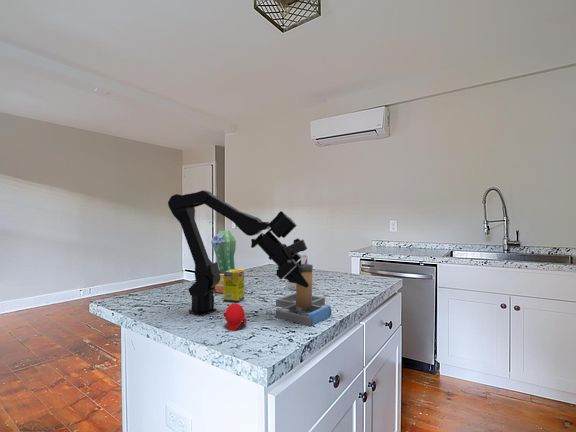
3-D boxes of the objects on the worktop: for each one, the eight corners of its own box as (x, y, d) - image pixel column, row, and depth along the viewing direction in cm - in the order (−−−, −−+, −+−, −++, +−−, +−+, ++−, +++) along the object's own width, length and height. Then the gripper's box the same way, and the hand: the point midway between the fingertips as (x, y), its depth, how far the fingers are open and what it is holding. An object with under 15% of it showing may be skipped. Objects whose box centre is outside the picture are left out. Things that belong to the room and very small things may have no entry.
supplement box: (238, 302, 113) (239, 272, 113) (223, 301, 114) (223, 271, 114) (244, 298, 119) (244, 269, 119) (229, 297, 120) (229, 269, 120)
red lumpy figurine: (224, 310, 93) (218, 304, 88) (243, 303, 94) (238, 297, 89) (230, 336, 89) (224, 332, 84) (250, 329, 90) (245, 324, 85)
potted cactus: (204, 287, 135) (204, 230, 135) (238, 284, 142) (239, 229, 142) (211, 296, 121) (211, 231, 121) (249, 292, 128) (249, 231, 128)
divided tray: (310, 326, 89) (310, 315, 89) (256, 312, 101) (256, 302, 101) (345, 307, 107) (345, 298, 107) (296, 298, 119) (296, 289, 119)
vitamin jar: (301, 308, 94) (302, 267, 94) (292, 304, 99) (292, 264, 99) (315, 306, 97) (316, 265, 97) (305, 302, 101) (306, 263, 101)
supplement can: (307, 286, 139) (307, 252, 139) (306, 291, 131) (307, 255, 131) (289, 286, 140) (289, 252, 140) (287, 290, 132) (287, 254, 132)
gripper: (288, 232, 89) (326, 272, 88) (295, 229, 108) (327, 262, 106) (260, 259, 90) (298, 299, 89) (272, 251, 109) (303, 284, 107)
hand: (308, 284), depth 98 cm, fingers closed on vitamin jar, 5 cm apart
